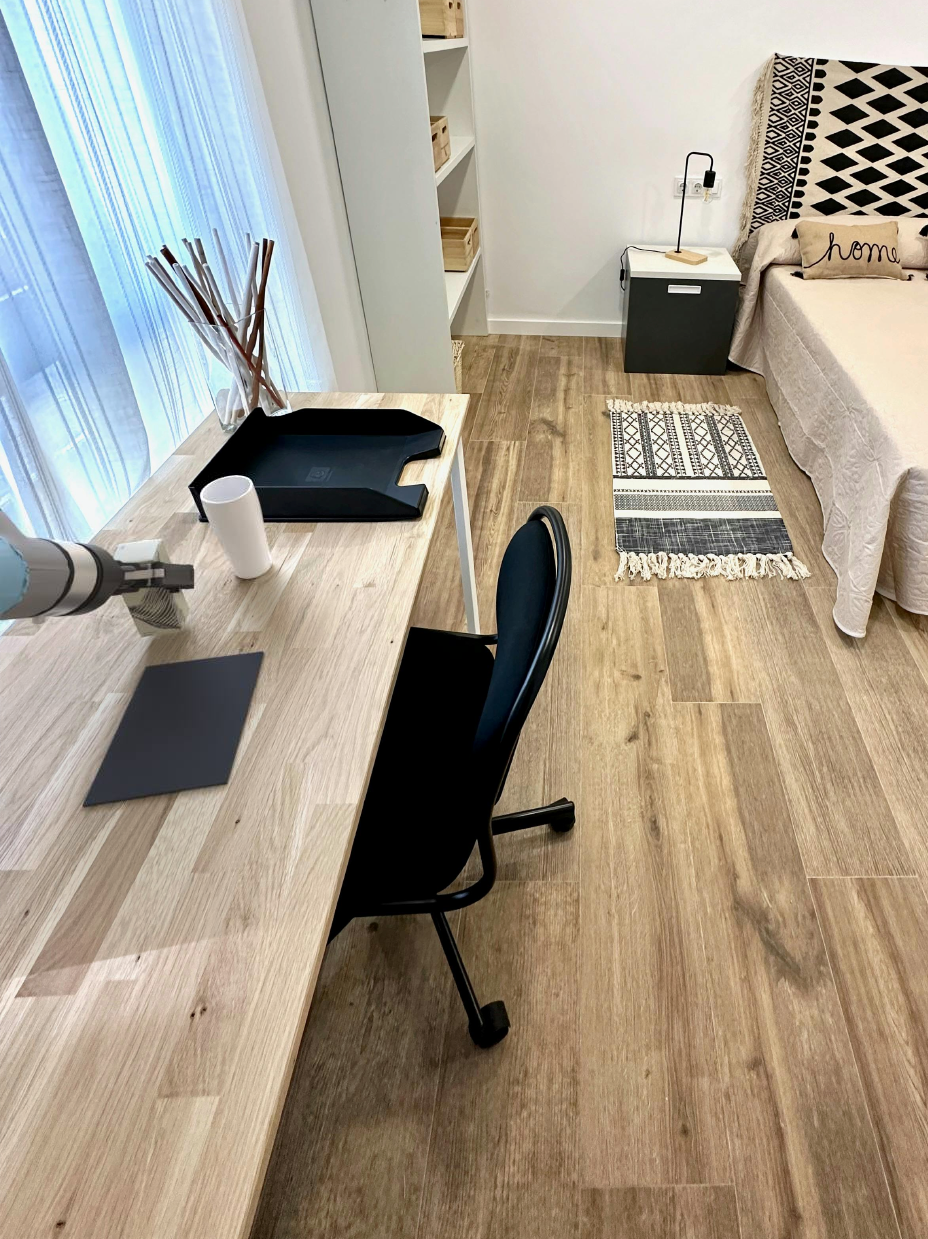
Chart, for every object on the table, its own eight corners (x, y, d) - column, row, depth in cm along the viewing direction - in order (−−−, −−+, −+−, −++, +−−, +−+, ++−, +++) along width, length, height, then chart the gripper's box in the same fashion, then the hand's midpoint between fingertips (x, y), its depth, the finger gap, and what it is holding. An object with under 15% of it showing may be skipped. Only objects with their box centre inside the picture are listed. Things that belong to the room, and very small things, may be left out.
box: (140, 639, 86) (103, 566, 79) (149, 614, 89) (115, 543, 82) (185, 631, 87) (153, 559, 80) (192, 607, 91) (162, 536, 84)
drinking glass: (255, 589, 96) (227, 508, 88) (218, 577, 98) (187, 497, 89) (288, 559, 101) (264, 480, 93) (252, 548, 103) (226, 470, 95)
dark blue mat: (83, 807, 69) (82, 805, 69) (147, 668, 84) (145, 666, 84) (227, 784, 72) (226, 782, 71) (264, 652, 86) (263, 651, 86)
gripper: (-49, 628, 64) (89, 618, 87) (158, 605, 68) (240, 601, 90) (-43, 551, 66) (92, 561, 88) (159, 532, 69) (239, 546, 91)
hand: (166, 581), depth 89 cm, fingers closed on box, 5 cm apart
